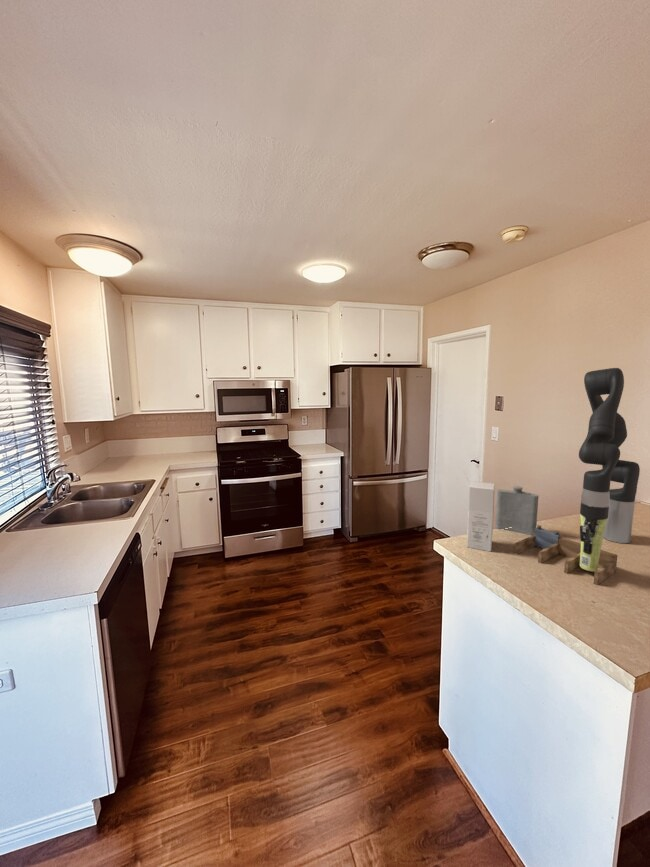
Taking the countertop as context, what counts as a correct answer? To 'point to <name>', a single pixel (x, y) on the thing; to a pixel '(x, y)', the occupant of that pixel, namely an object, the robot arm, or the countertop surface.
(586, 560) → the tube
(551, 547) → the wooden slatted rack
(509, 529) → the hip flask
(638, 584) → the countertop surface
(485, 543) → the tall white carton
